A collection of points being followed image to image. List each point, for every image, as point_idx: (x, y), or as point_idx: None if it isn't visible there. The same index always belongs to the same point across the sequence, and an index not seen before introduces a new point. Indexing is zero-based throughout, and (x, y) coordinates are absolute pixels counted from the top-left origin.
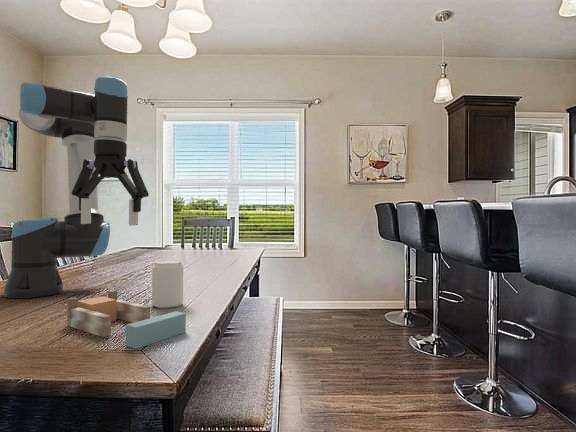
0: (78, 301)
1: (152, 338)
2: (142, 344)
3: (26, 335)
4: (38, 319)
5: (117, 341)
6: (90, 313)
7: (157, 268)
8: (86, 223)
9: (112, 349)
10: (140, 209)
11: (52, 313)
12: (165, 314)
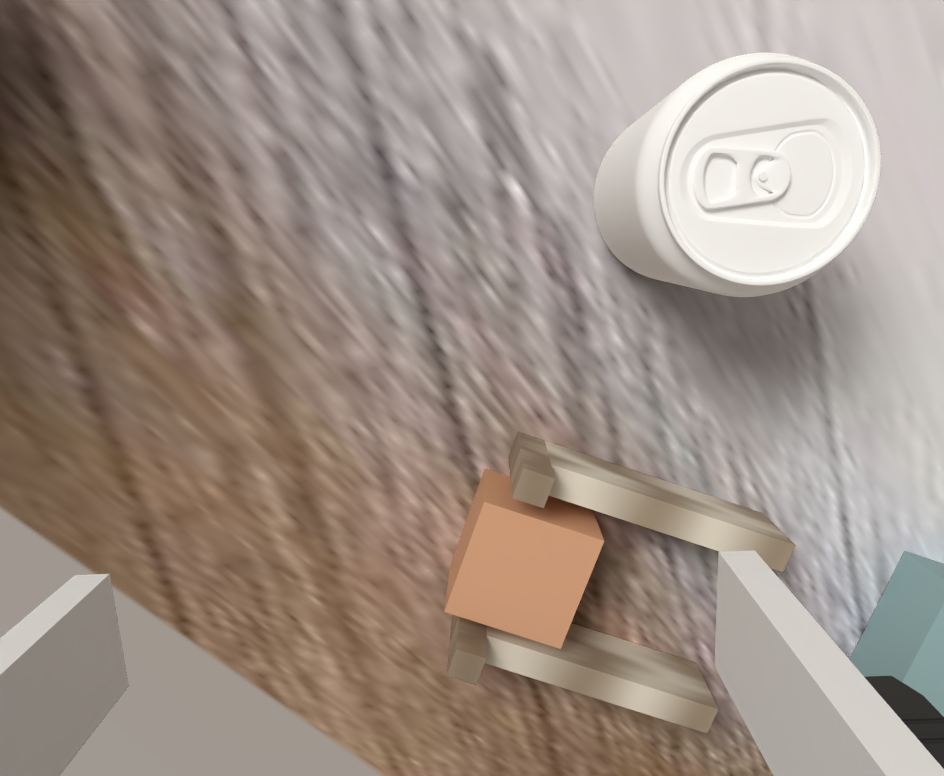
0: (457, 614)
1: None
2: None
3: (410, 728)
4: (269, 573)
5: None
6: (614, 702)
7: (727, 295)
8: (120, 645)
9: None
10: (928, 712)
11: (239, 485)
12: (928, 640)
